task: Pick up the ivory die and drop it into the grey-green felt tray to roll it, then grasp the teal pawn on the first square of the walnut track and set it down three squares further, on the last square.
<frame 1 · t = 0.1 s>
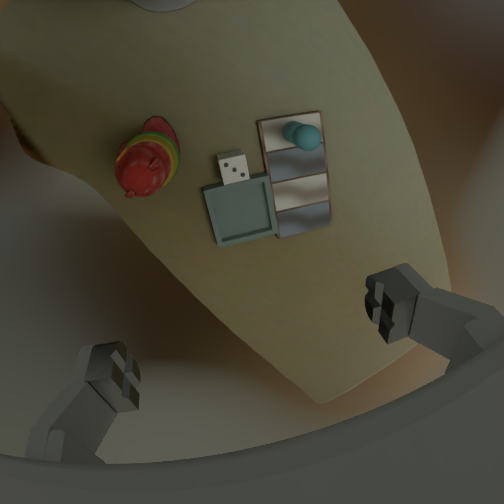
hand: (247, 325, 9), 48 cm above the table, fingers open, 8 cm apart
die: (231, 163, 54), on the table
pawn: (293, 131, 52), point 1 cm above the table, touching board
tray: (240, 208, 59), on the table
stacking bear: (153, 151, 50), on the table
board: (297, 175, 58), on the table
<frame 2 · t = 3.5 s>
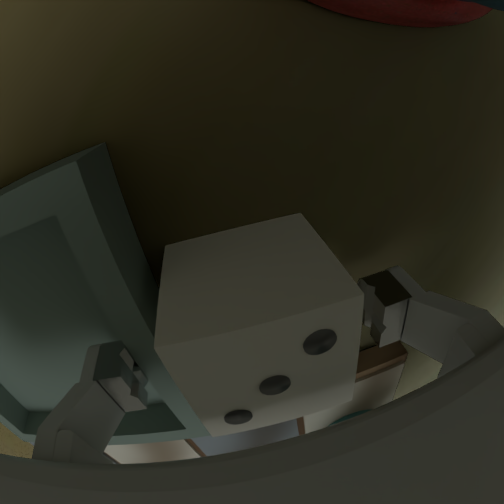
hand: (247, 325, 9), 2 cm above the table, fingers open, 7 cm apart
die: (245, 282, 11), on the table
tray: (41, 330, 10), on the table
board: (206, 444, 17), on the table
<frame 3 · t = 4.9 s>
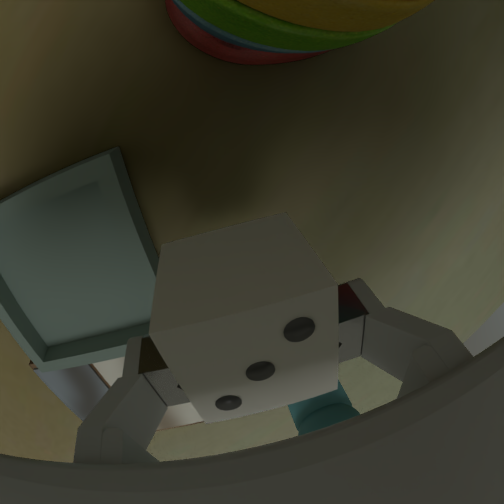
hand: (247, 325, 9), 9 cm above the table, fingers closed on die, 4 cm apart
die: (237, 279, 12), point 7 cm above the table, touching gripper
pawn: (296, 357, 23), point 1 cm above the table, touching board
tray: (69, 269, 17), on the table
board: (186, 375, 23), on the table
when the fingers open (11 cm above the table, at t = 6.0 s): die drops 8 cm, resting on tray.
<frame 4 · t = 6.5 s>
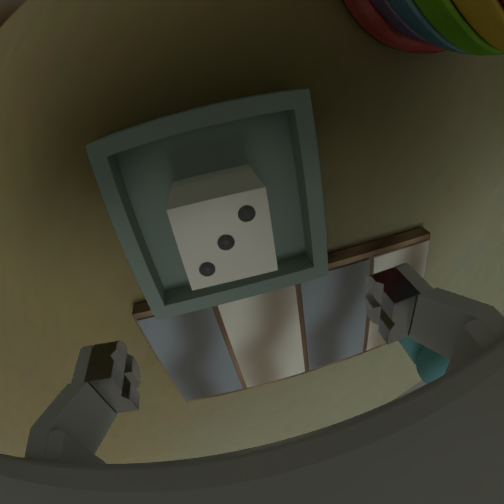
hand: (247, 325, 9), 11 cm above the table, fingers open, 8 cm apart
die: (217, 207, 18), point 1 cm above the table, touching tray
pawn: (397, 301, 25), point 1 cm above the table, touching board
tray: (217, 201, 19), on the table
board: (298, 321, 25), on the table
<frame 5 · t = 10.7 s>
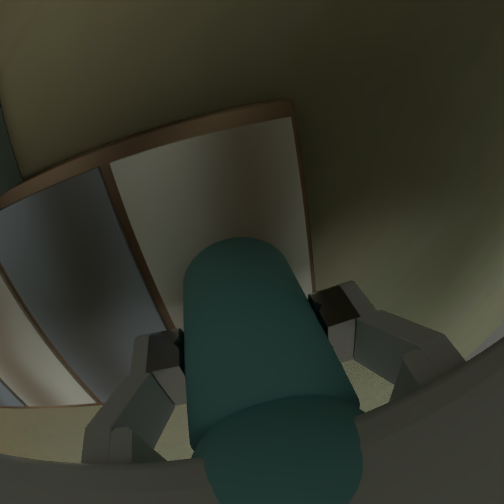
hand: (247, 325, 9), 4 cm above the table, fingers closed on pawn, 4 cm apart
pawn: (238, 286, 11), point 1 cm above the table, touching board, gripper
board: (49, 312, 12), on the table
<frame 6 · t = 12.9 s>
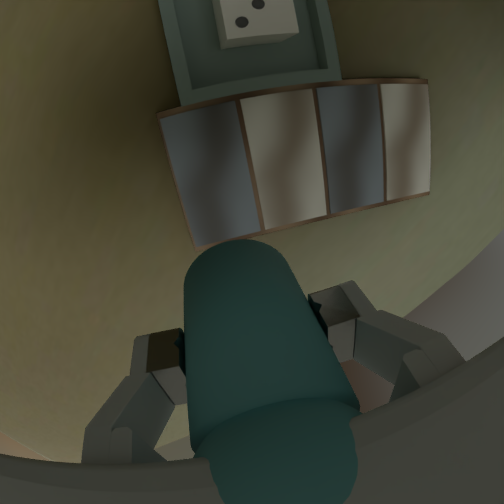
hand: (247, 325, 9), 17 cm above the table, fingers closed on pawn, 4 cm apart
die: (246, 19, 18), point 1 cm above the table, touching tray
pawn: (238, 288, 11), point 15 cm above the table, touching gripper
tray: (244, 20, 18), on the table
board: (316, 150, 25), on the table
when the fingers open (5 cm above the table, at t = 15.5 s): pawn drops 1 cm, resting on board.
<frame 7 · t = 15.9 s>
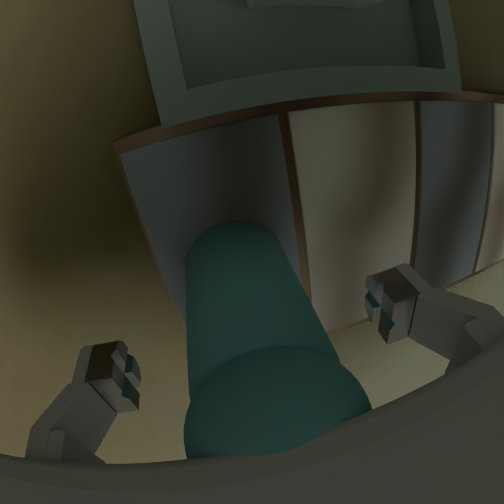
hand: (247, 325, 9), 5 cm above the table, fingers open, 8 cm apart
pawn: (235, 266, 12), point 1 cm above the table, touching board
board: (401, 205, 14), on the table
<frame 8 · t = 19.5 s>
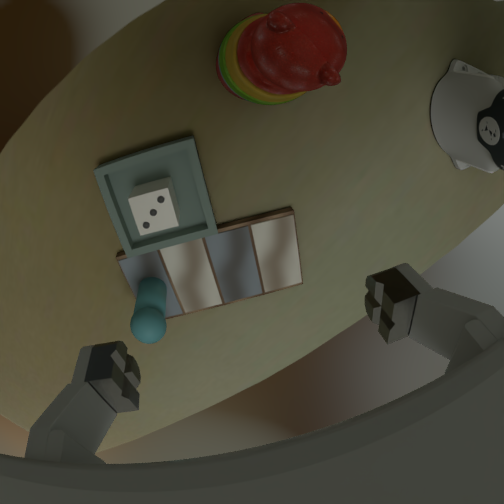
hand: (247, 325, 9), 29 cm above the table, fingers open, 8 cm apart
die: (157, 198, 35), point 1 cm above the table, touching tray
pawn: (152, 288, 41), point 1 cm above the table, touching board
tray: (158, 195, 36), on the table
stacking bear: (257, 63, 30), on the table
board: (213, 267, 42), on the table
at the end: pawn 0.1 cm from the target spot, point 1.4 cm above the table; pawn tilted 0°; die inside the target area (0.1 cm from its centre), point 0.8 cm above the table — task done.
